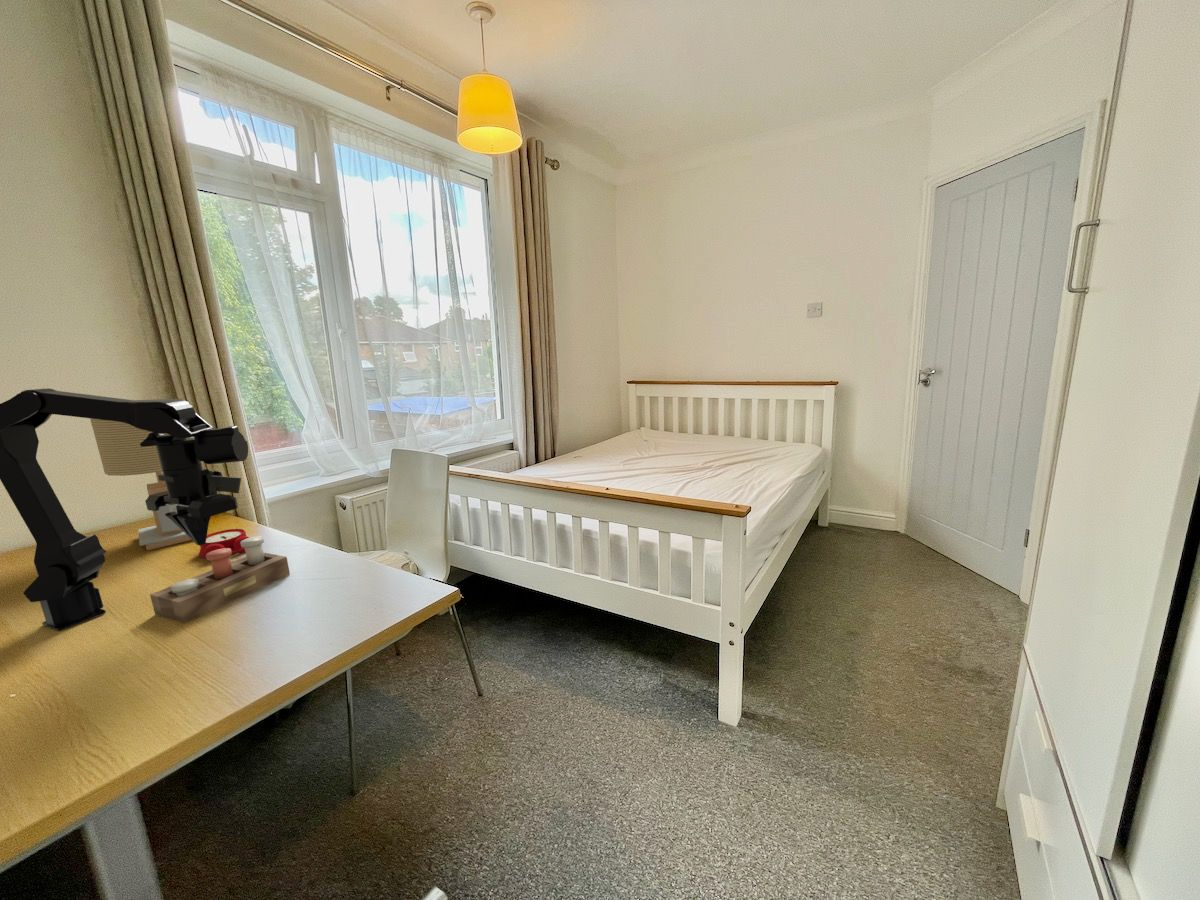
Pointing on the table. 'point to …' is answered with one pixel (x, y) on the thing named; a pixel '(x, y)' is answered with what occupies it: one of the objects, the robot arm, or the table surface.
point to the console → (219, 588)
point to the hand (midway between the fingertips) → (201, 544)
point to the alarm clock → (224, 541)
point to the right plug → (253, 550)
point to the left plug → (185, 587)
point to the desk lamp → (132, 459)
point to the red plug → (220, 562)
